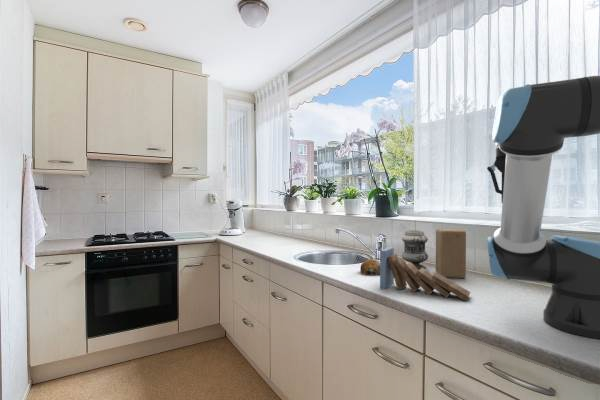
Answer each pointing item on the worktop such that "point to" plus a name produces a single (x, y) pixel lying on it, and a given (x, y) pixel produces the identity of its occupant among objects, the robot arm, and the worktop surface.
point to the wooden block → (451, 253)
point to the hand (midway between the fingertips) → (507, 213)
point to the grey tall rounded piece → (415, 247)
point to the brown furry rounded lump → (370, 267)
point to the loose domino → (451, 286)
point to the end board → (386, 268)
